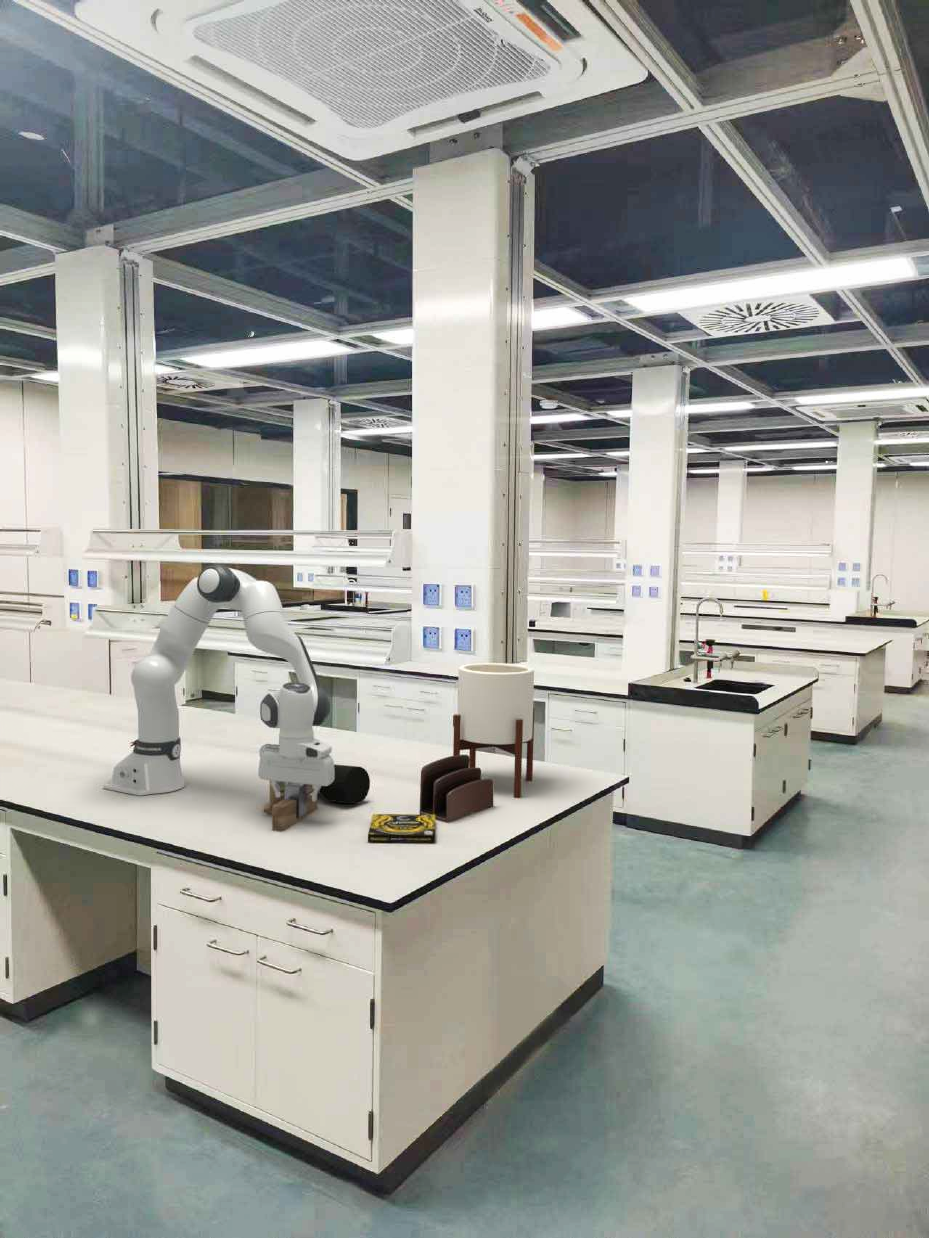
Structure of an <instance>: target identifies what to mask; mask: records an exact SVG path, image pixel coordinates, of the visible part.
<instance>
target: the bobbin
mask: <svg viewBox="0 0 929 1238" xmlns="http://www.w3.org/2000/svg"><path fill="white" fill-rule="evenodd" d="M278 784H279V787H280V789H281V790H284V792H283V794H284V795H283V797H282V798H276V797H275V790H274V789H273V787H272V785H271V780H269V803H266V804H265V805H263V812H264V813H265V814H268V815H272V806H274V805H275V804H277V803H279V802H280V801H282V800H284V799H285V782H281V781H280V783H278Z"/></svg>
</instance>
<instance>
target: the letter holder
mask: <svg viewBox="0 0 929 1238" xmlns="http://www.w3.org/2000/svg"><path fill="white" fill-rule="evenodd" d="M419 782H420V783H419V785H420V789H419V790H420V791H419V812H418V813H419V815H435V821H439V822H444V823H446V824H447V823H451V822H453V821H454V822H455V821H456V820H459V819H461V818H465V817H467V816H471V815H473V814H475V813H478V812H481V811H484V810H488V809H490V808H492V807H494V780H493V779H492V778H482V769H481V768H480V767H475V768H469V755H468V754H460V755H455V756H453V755H450V756H447V757H443V758H439V759H437V760H435V761H432V762H430V763H428V764H426V765H424V766H422V767H421V770H420V781H419Z"/></svg>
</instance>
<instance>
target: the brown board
mask: <svg viewBox="0 0 929 1238" xmlns="http://www.w3.org/2000/svg"><path fill="white" fill-rule="evenodd" d="M314 790H315V789H313V786H306V814H305V815H303V816H301V817H300V818H296V800H295V799H284V800H282V801H280V802H279V803H277V804H275V805H274V806H272V814H271V815H272V817H271V818H272V819H271V820H272V821H271V822H272V823H271V827H272V831H279V832H284V831H286V830H287V829H289V828H290V827H292V826H293V825H294V824H295V825H296V824H297V823H298V822H300V821H301V820H303V819H304V818H306V817H308V815H310V814H312V813H313V812H316V810H318V808H319V807H318V804H319V802H318V799H319V798H318V797H319V796H318V795H319V794H318V793H317V800H316V801H315V802H312V801H309V794H311V793H313V791H314Z"/></svg>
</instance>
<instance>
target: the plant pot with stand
mask: <svg viewBox="0 0 929 1238" xmlns="http://www.w3.org/2000/svg"><path fill="white" fill-rule="evenodd" d="M457 678H458V680H457V681H458V685H457V686H458V688H457V713H454V714H453V745H452V746H453V747H452V749H453V750H452V751H453V752H452V753H453V754H452V756H455V755H461V751H464V750H465V751H466V750H469V752H468V753H469V755H468V756H469V768H476V765H477V764H476V763H477V762H476V760H477V759H476V756H477V755H476V753H477V749H485V748H492V747H493V748H496V749H499V750H501V751H504V752H507V753H509V754H511V755H514V773H513V774H514V775H513V777H514V779H513V780H514V781H513V783H514V785H513V798H514V799H521V798H522V769H523V767H522V763H523V744H526V767H525V768H526V769H525V770H526V771H525V773H526V775H525V776H526V777H525V781H526V782H530V783H531V782H533V776H534V775H533V771H534V768H533V767H534V766H533V765H534V743H535V742H534V740H535V739H534V738H535V737H534V736H535V735H534V734H535V707H534V691H535V690H534V687H535V686H534V685H535V684H534V683H535V682H534V681H535V669H534V668H533V667H531V666H528V665H524V664H523V665H522V664H517V663H516V664H515V663H514V664H513V663H502V662H479V663H478V662H477V663H467V664H462V665H460V666H458V677H457Z"/></svg>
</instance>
